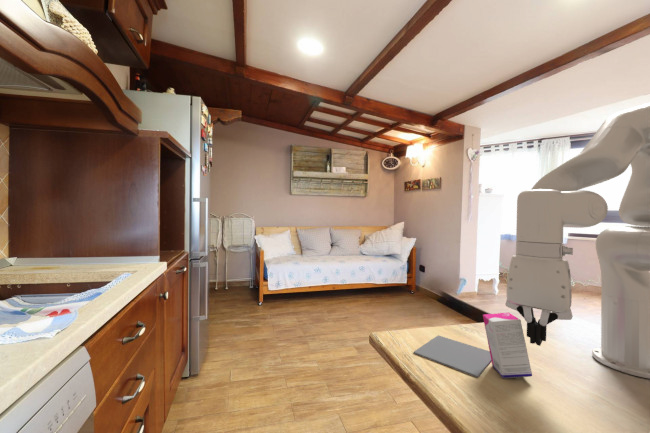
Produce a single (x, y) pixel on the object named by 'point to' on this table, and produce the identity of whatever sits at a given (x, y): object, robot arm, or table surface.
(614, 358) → the robot arm
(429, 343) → the mat
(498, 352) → the supplement box
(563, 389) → the table surface
